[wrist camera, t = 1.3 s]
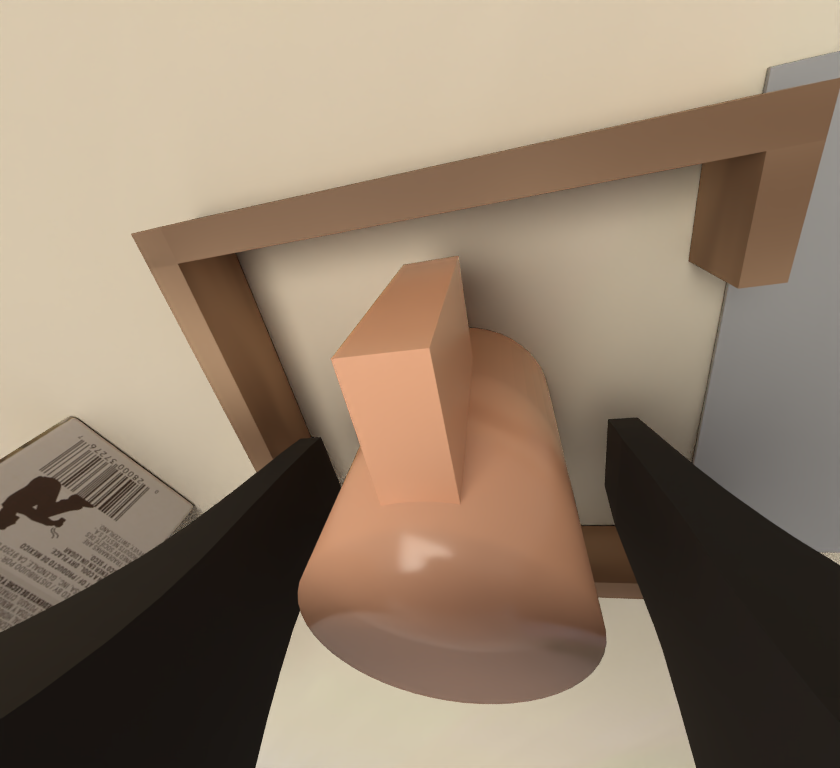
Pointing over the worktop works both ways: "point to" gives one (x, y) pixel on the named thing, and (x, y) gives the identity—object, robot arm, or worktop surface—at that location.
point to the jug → (452, 511)
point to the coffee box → (74, 517)
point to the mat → (785, 365)
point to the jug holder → (486, 184)
